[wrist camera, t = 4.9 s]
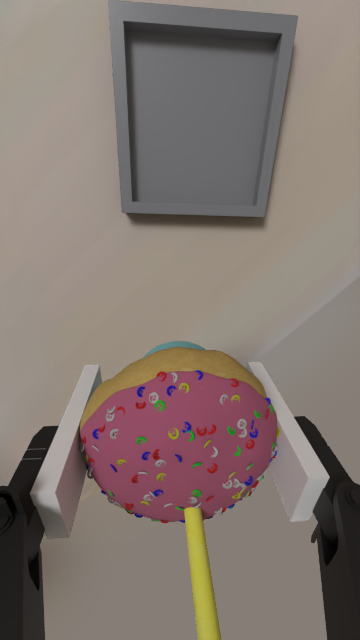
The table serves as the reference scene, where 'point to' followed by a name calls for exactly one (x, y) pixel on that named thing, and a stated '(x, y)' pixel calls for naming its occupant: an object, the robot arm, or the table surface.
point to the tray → (197, 106)
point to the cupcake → (181, 446)
